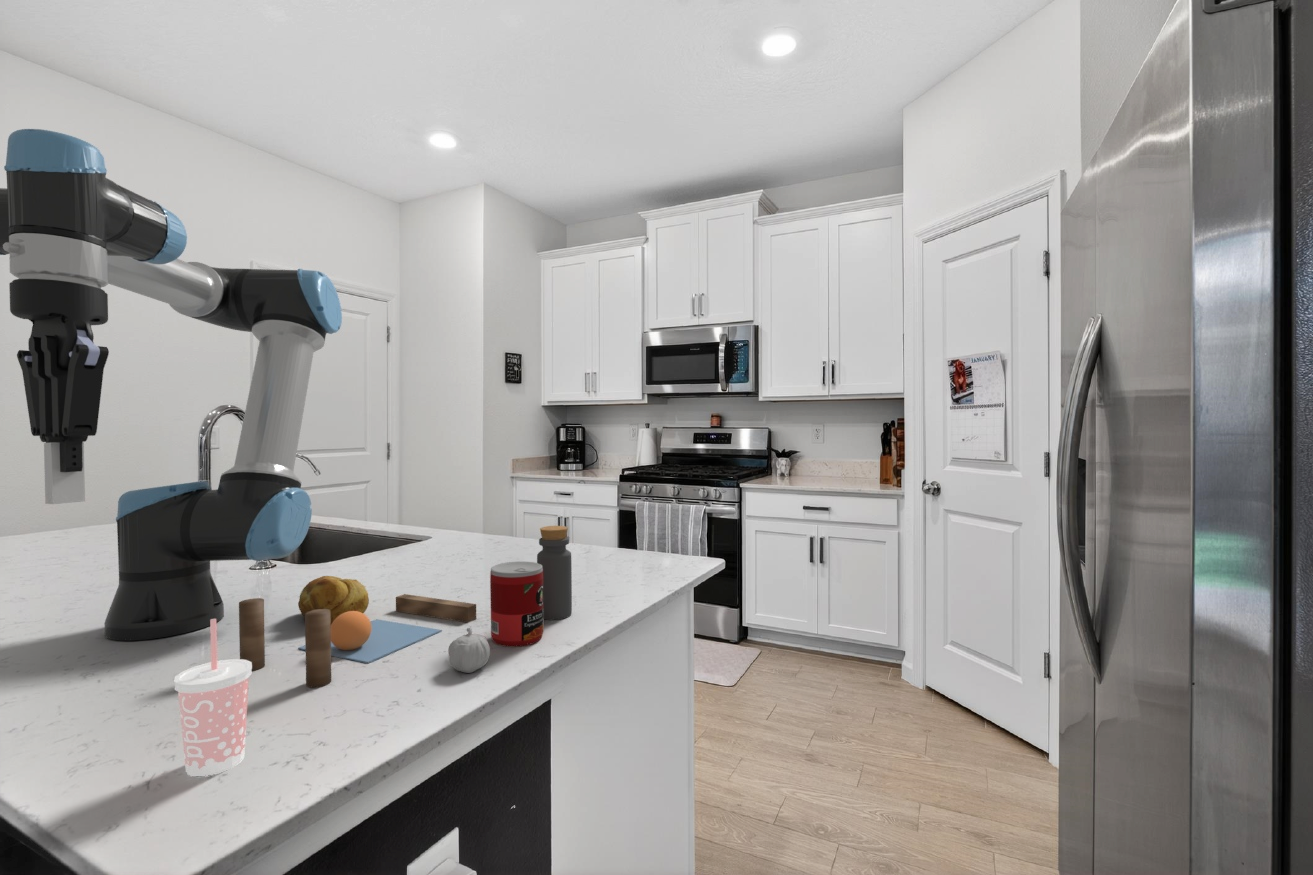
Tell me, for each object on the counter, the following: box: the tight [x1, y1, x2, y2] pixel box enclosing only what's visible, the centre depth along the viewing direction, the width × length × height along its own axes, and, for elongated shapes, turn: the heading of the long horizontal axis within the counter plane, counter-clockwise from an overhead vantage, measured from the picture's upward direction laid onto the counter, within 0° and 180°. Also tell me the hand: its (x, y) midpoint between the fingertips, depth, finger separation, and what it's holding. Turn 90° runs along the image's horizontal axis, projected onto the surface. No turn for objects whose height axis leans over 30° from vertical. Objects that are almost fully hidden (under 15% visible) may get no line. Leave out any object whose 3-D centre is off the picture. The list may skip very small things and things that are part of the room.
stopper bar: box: [395, 593, 477, 623], centre depth 103 cm, size 16×2×2 cm, turn 67°
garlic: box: [447, 627, 491, 674], centre depth 80 cm, size 6×5×5 cm
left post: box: [238, 597, 266, 672], centre depth 81 cm, size 3×3×9 cm
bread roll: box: [297, 575, 370, 624], centre depth 103 cm, size 13×10×8 cm
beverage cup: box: [173, 619, 253, 777], centre depth 58 cm, size 6×6×14 cm
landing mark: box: [298, 618, 443, 664], centre depth 92 cm, size 14×14×1 cm
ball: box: [331, 611, 371, 650], centre depth 88 cm, size 6×6×6 cm
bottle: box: [536, 525, 573, 621], centre depth 103 cm, size 6×6×15 cm
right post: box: [304, 609, 332, 689], centre depth 76 cm, size 3×3×9 cm
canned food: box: [489, 561, 544, 648], centre depth 92 cm, size 8×8×11 cm
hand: (65, 502), depth 65 cm, fingers closed
